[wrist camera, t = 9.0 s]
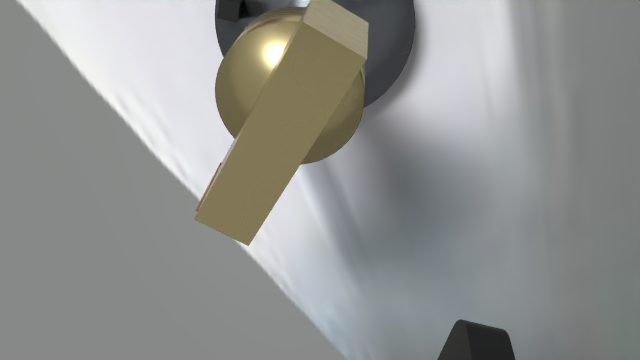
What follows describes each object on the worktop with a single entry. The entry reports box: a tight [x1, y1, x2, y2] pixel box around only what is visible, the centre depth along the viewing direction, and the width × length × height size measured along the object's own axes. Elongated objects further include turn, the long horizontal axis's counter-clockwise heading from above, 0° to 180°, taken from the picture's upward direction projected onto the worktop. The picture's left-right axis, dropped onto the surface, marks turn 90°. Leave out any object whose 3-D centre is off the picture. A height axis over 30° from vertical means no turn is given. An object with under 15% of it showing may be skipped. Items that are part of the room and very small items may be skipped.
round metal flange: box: [215, 0, 415, 108], centre depth 31 cm, size 12×12×10 cm
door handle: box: [195, 0, 368, 246], centre depth 24 cm, size 10×6×8 cm, turn 151°
